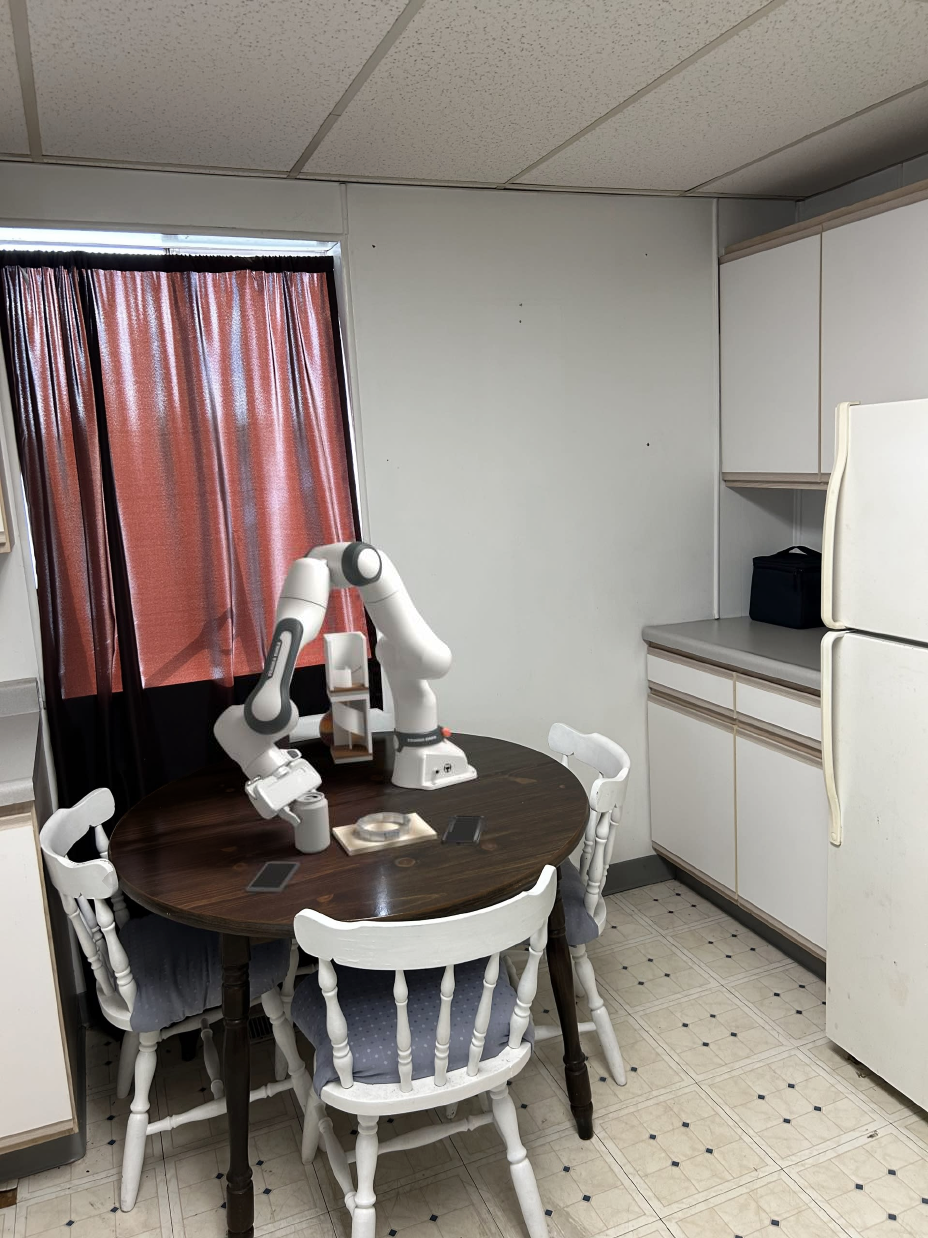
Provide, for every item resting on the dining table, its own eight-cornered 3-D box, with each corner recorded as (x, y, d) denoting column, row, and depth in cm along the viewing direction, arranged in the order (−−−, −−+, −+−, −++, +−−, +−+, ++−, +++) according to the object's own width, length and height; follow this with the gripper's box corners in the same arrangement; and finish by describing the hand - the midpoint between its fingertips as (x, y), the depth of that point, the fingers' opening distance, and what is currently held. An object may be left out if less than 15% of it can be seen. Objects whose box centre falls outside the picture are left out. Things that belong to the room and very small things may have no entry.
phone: (485, 816, 221) (477, 841, 206) (485, 820, 221) (477, 846, 206) (452, 815, 222) (441, 841, 207) (452, 820, 222) (441, 845, 207)
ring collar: (400, 817, 221) (400, 809, 220) (418, 835, 210) (417, 826, 209) (350, 826, 216) (350, 818, 216) (366, 845, 205) (365, 836, 205)
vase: (341, 750, 278) (337, 699, 275) (312, 746, 283) (308, 695, 281) (364, 740, 287) (361, 691, 284) (336, 736, 293) (333, 687, 290)
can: (336, 842, 210) (333, 791, 208) (320, 856, 203) (317, 803, 201) (306, 839, 213) (302, 788, 211) (289, 852, 206) (285, 800, 204)
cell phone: (244, 894, 188) (244, 890, 187) (268, 864, 201) (267, 861, 201) (280, 895, 186) (279, 891, 186) (301, 865, 200) (301, 861, 200)
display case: (330, 752, 277) (323, 634, 271) (367, 748, 279) (360, 631, 273) (335, 763, 266) (327, 641, 260) (372, 759, 268) (365, 638, 262)
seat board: (415, 817, 223) (415, 812, 223) (436, 838, 210) (436, 833, 210) (332, 833, 216) (332, 828, 215) (349, 855, 203) (349, 850, 203)
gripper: (249, 775, 198) (292, 825, 196) (301, 747, 217) (341, 792, 215) (233, 794, 201) (275, 843, 199) (286, 764, 219) (325, 809, 217)
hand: (310, 816), depth 207 cm, fingers closed on can, 7 cm apart
